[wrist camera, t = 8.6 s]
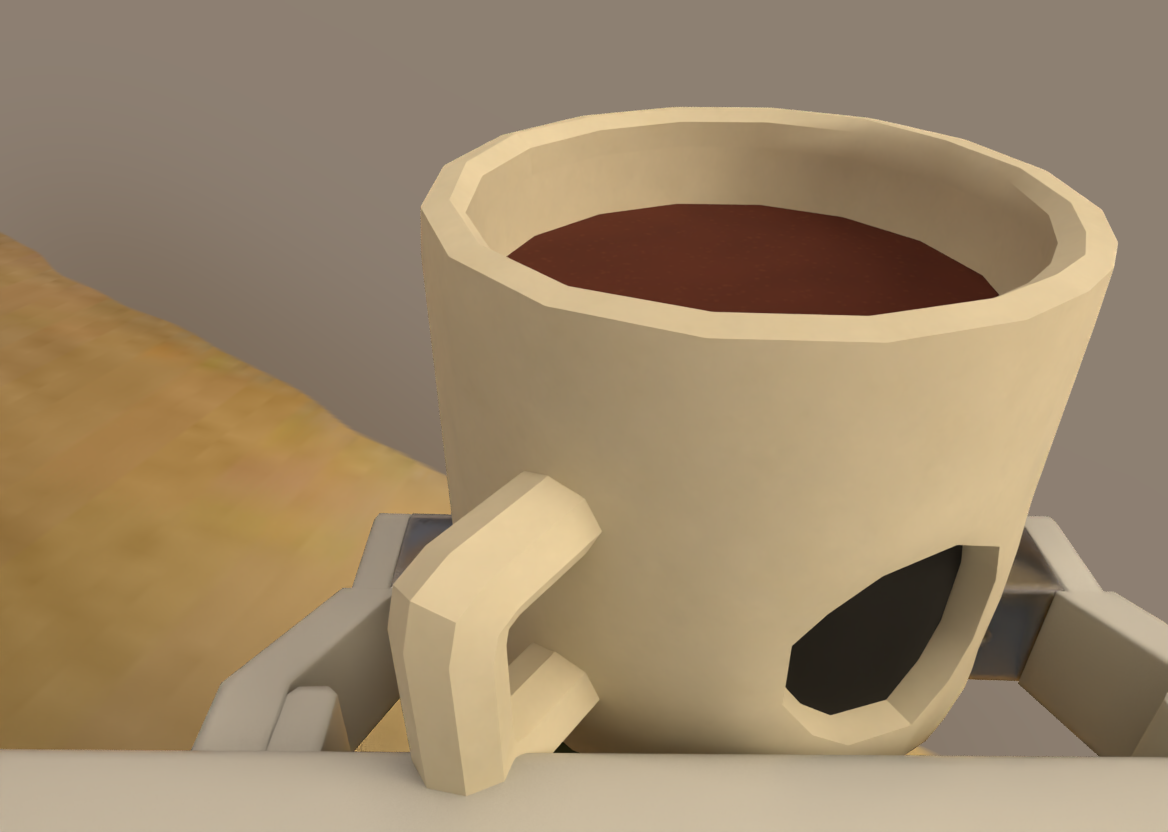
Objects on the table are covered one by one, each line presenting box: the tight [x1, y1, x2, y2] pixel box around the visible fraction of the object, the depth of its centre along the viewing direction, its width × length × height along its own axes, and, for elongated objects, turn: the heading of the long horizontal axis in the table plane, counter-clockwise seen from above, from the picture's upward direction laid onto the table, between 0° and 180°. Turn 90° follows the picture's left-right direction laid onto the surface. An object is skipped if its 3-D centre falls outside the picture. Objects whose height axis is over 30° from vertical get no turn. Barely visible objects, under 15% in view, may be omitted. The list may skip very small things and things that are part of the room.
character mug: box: [387, 107, 1118, 796], centre depth 13 cm, size 11×7×13 cm, turn 143°
